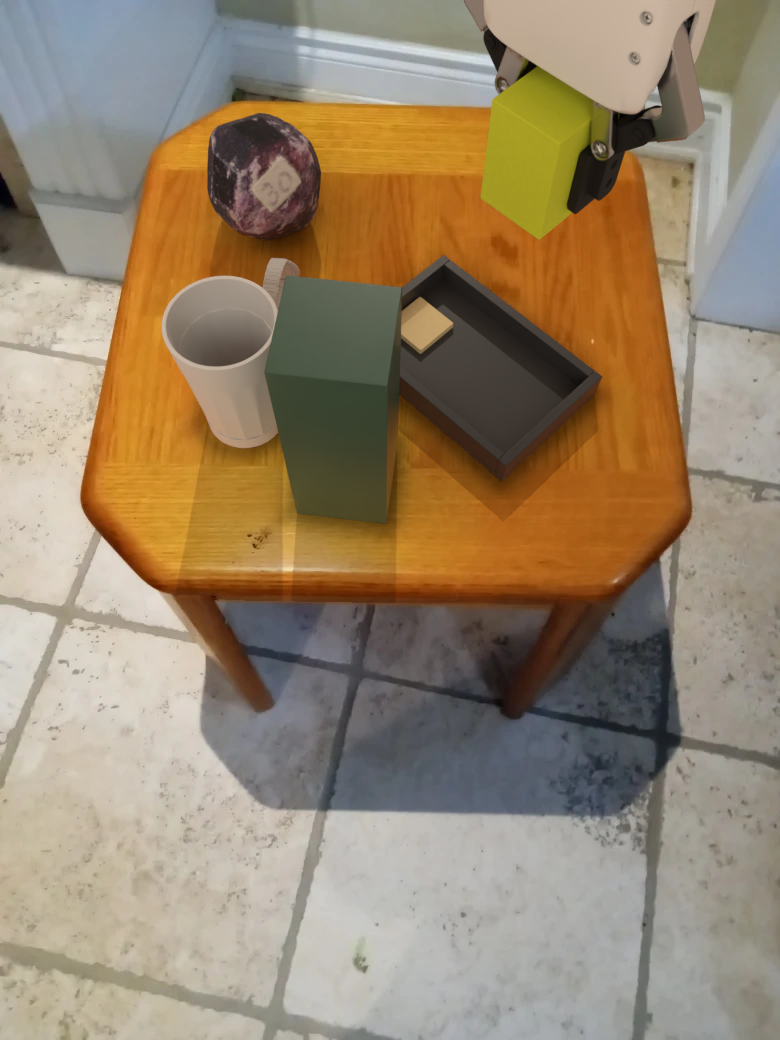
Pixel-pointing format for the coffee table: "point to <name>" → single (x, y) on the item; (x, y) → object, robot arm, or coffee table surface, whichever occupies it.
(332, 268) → the coffee table surface
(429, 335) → the beige flat square block
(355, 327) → the tall green box
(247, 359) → the cup
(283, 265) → the wristwatch
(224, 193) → the mineral specimen
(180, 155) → the coffee table surface
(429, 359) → the pan
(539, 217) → the yellow-green rectangular block
